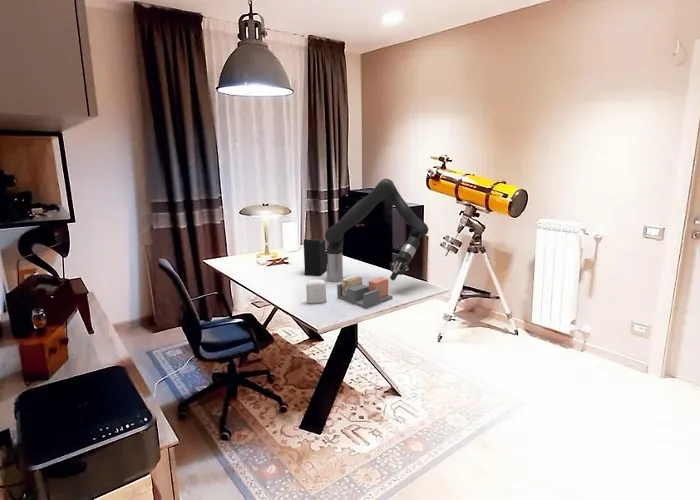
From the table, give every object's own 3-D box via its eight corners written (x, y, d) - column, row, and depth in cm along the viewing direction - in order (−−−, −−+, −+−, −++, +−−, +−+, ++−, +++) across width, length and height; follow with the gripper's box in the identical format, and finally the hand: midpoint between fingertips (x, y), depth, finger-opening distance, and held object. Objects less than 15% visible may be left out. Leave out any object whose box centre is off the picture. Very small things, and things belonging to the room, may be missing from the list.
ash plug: (342, 295, 230) (342, 279, 228) (355, 290, 237) (355, 275, 235) (348, 297, 227) (348, 281, 225) (362, 292, 233) (361, 277, 231)
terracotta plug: (368, 297, 227) (368, 280, 225) (381, 292, 234) (381, 276, 231) (375, 299, 223) (375, 283, 221) (388, 294, 230) (388, 278, 228)
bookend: (317, 265, 294) (315, 232, 288) (332, 266, 291) (331, 232, 285) (304, 275, 272) (302, 239, 266) (320, 276, 269) (319, 240, 263)
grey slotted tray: (337, 297, 232) (337, 284, 230) (363, 289, 245) (363, 276, 243) (365, 308, 216) (365, 294, 214) (392, 298, 229) (392, 285, 227)
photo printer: (306, 304, 224) (305, 281, 220) (306, 301, 228) (305, 279, 225) (326, 303, 224) (325, 280, 221) (326, 300, 229) (325, 278, 226)
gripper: (394, 248, 241) (379, 273, 236) (412, 252, 232) (397, 278, 227) (400, 255, 246) (386, 280, 241) (418, 259, 236) (404, 285, 231)
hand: (391, 279), depth 234 cm, fingers closed
